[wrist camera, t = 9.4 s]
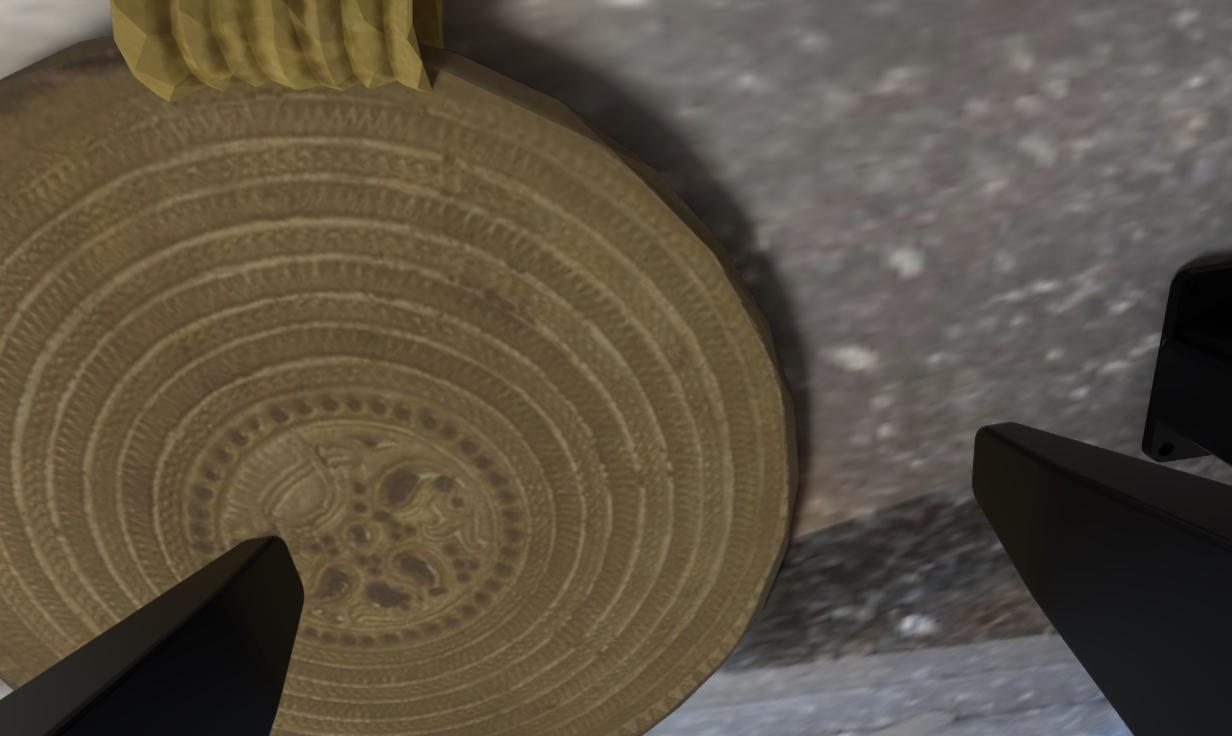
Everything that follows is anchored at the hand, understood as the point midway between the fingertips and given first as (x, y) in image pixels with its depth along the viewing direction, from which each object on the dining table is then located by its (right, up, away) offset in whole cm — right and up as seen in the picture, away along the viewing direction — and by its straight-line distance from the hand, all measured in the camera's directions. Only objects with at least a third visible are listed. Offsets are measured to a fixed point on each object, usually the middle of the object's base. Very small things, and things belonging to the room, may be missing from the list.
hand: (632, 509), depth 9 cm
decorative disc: (-9, -2, +14) cm, 17 cm away
